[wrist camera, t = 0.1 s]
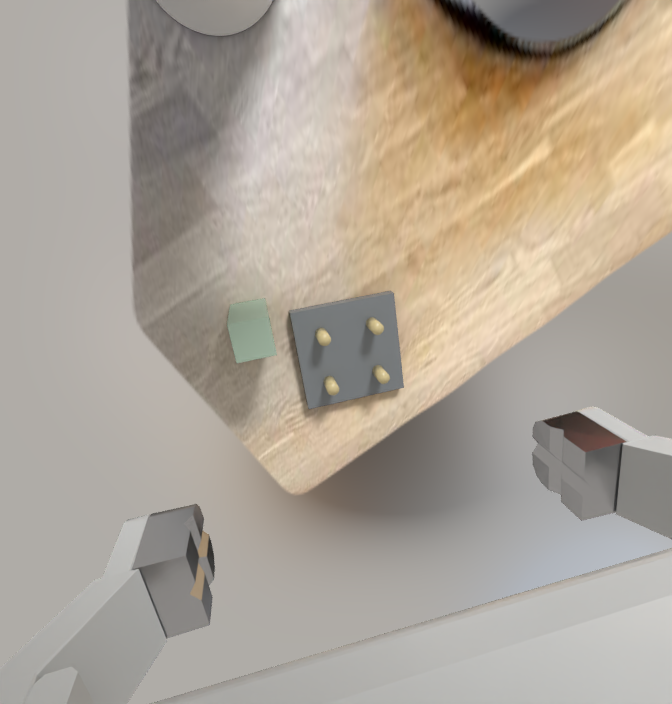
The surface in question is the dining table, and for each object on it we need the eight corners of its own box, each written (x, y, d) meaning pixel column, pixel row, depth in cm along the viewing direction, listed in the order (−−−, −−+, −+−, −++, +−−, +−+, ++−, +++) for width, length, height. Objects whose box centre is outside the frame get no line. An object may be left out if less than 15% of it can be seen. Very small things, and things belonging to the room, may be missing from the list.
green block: (230, 304, 56) (227, 324, 46) (264, 298, 56) (268, 316, 47) (238, 337, 57) (236, 363, 48) (271, 330, 58) (276, 354, 49)
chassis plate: (289, 310, 57) (292, 318, 53) (390, 290, 59) (401, 297, 55) (307, 404, 62) (311, 419, 58) (400, 383, 64) (411, 396, 60)
